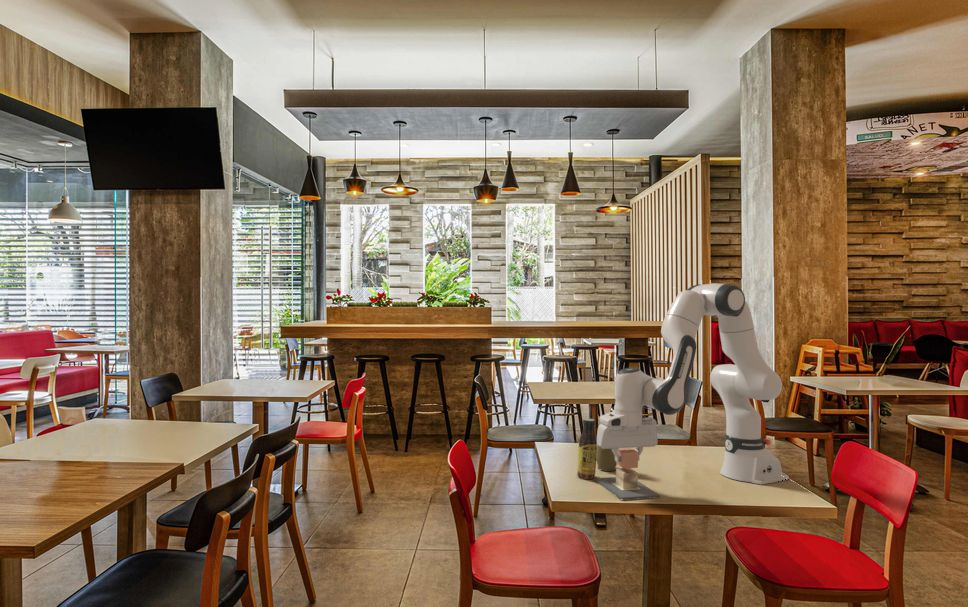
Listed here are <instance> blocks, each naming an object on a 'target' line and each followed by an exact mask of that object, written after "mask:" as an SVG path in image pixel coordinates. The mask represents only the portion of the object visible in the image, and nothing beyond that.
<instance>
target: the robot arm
mask: <svg viewBox="0 0 968 607" xmlns="http://www.w3.org/2000/svg"><path fill="white" fill-rule="evenodd" d="M704 316H709V317H710V316H711V317H712V316H713V317H715V316H716V317H717V318H718V322H717V323H718V329H719V330H718V331H719V336H720V342H721V343H720V344H721V350H722V352H723V353H724V354H725V355H726V356H727V357H728V358H729V359H730V360H731V361H732V362H733V363H734V364H732V363H726V364H724V363H723V364H718V365H716V366H714V367H713V369H712V370H711V372H710V375H709V382H710V384H711V386H712V388H714V390H715V391H716V392H717V394H718V395H719V397H720V400H721V401H722V403H723V406H724V411H725V425H726V428H725V430H726V431H725V433H724V454H723V455H724V456H723V460H722V461H723V462H722V465H721V469H720V471H719V472H720V474H721V475H722V476H724V477H726V478H728V479H731V480H735V481H740V482H747V483H753V484H756V485H766V484H767V485H768V484H772V483H778V481H779V482H784V481H789V480H790V476H789V475H788V474H786V473H785V472H783V471H782V464H781V462H780V459H778V458H777V456H775V455H774V454H772V453H771V452H770V451H769V450H767V448H766V446H770V445H772V441H771V439H768V438H762V435H761V434H762V417H761V414H760V413H759V411H758V410H756V409H755V408H754V406H753V405H752V404H751V402H750V399H752V400H757V401H772V400H776V399H777V398H778V397H779V395H780V394H781V393H782V389H783V382H782V379H781V377H780V375H779V374H778V373H777V372H775V371H774V370H773V369H772V368H771V367H770V366H769V365H768V364H767V362H766V361H765V359H764V358H763V356H762V354H761V353H760V350H759V347H758V343H757V339H756V332H755V325H754V320H753V316H752V313H751V310H750V307H749V304H748V302H747V301H746V297H745V294H744V292H743V290H742V289H741V287H740V286H738V285H736V284H732V283H714V282H711V283H705V284H695V285H692V286H689V287H688V288H687V289H685V290H682V291H680V292H679V293H678V294H677V295H676V296H675V298H674V300H673V301H672V303H671V305H670V306H669V308H668V310H667V312H666V314H665V316H664V319H663V321H662V324H661V328H660V329H661V330H660V334H661V337H662V338H663V340H664V342H665V343H666V344H667V345H668V346H669V347H670V348H671V349H672V351H673V358H672V362H671V365H670V368H669V370H668V374H667V377H666V378H665V380H662V379H658V378H655V377H654V376H653V377H652V376H650V375H648V374H647V373H644V372H643V371H642V370H641V369H640V368H638V367H625V368H622V369H620V370H618V371H617V372H616V374H615V379H614V380H615V381H614V398H615V402H614V406H613V411H610V412H607V413H605V414H603V415H600V416H599V422H600V423H599V425H598V427H597V434H596V443H597V444H598V446H599V447H601V448H602V449H612V451H613V453H614V455H615V461H616V462H621V456H620V455H618V453H617V451H619V448H631V449H633V448H635V449H636V451H637V452H638V462H639V461H640V456H641V455H642V453H643V451H644V448H651V447H653V448H654V447H656V446H657V444H658V442H659V441H658V431H657V427H658V426H657V424H658V423H657V420H656V419H655V418H653V417H643V407H645V406H646V407H647V408H650V409H653V410H656V411H658V412H659V413H662V414H664V415H667V416H670V415H676V414H677V413H678V412H680V411H681V409H682V408H683V407H684V405H685V404H686V398H687V386H688V382H689V379H690V375H691V372H692V368H693V364H694V361H695V357H696V354H697V353H696V352H697V342H696V337H697V333H698V330H699V327H700V325H701V322H702V319H703V317H704ZM781 475H782V476H781ZM783 476H784V477H783ZM786 478H787V479H786ZM784 479H786V480H784ZM788 479H789V480H788ZM782 480H783V481H782Z"/></svg>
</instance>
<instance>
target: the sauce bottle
mask: <svg viewBox="0 0 968 607" xmlns="http://www.w3.org/2000/svg"><path fill="white" fill-rule="evenodd" d="M582 423H583V428H582V433H581V434H580V436H579V439H578V450H577V451H578V452H577V467H576V471H577V473H576V474H577V477H578V478H580V479H585V480H592V479H594V478H596V477H595V476H596V467H597V462H596V452H597V436H596V435H595V425H596V420H595V419H594V418H582Z"/></svg>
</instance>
